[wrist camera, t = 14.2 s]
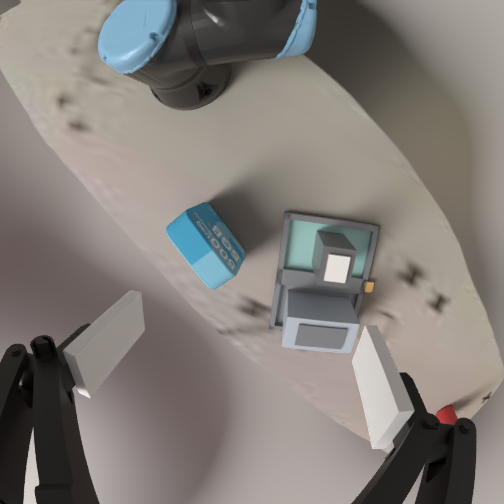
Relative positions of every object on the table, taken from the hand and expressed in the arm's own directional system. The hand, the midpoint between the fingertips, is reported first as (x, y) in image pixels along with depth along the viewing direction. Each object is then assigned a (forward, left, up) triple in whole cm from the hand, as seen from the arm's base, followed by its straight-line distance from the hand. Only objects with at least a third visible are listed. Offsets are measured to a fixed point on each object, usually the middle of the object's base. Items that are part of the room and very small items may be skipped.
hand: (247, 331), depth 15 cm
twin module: (+16, +10, -34) cm, 39 cm away
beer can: (+51, +62, -35) cm, 88 cm away
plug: (+4, +10, -34) cm, 36 cm away
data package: (+4, -10, -35) cm, 37 cm away
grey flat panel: (+10, +10, -35) cm, 37 cm away
